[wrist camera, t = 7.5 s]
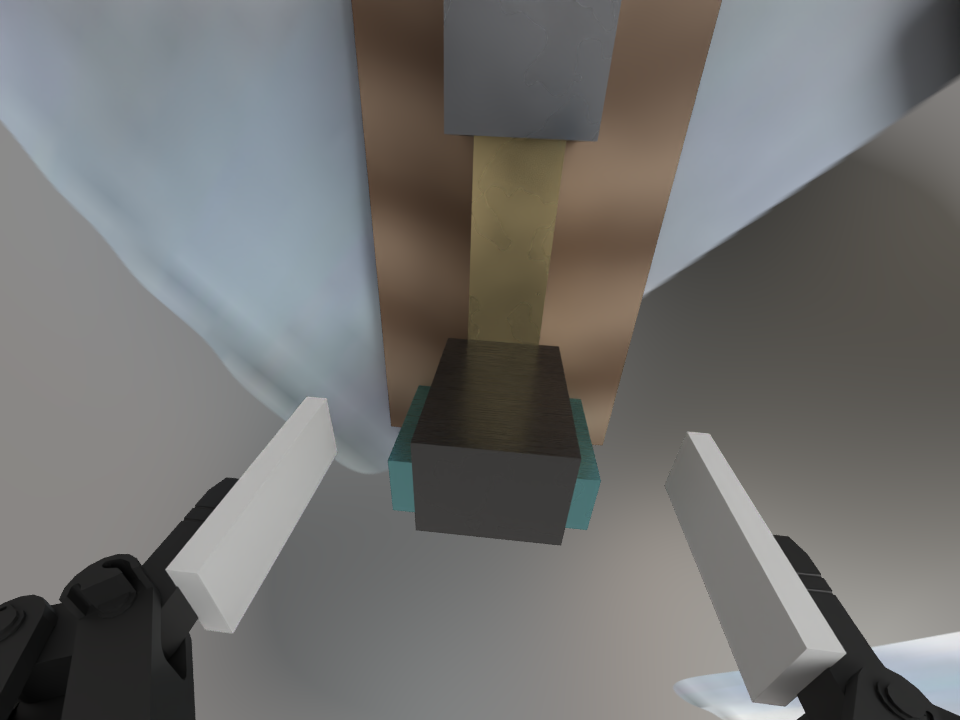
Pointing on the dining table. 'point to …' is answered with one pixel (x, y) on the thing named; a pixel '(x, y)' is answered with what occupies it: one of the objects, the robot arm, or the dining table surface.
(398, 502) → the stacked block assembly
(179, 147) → the dining table surface
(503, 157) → the square head mallet
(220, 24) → the dining table surface
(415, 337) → the base board
